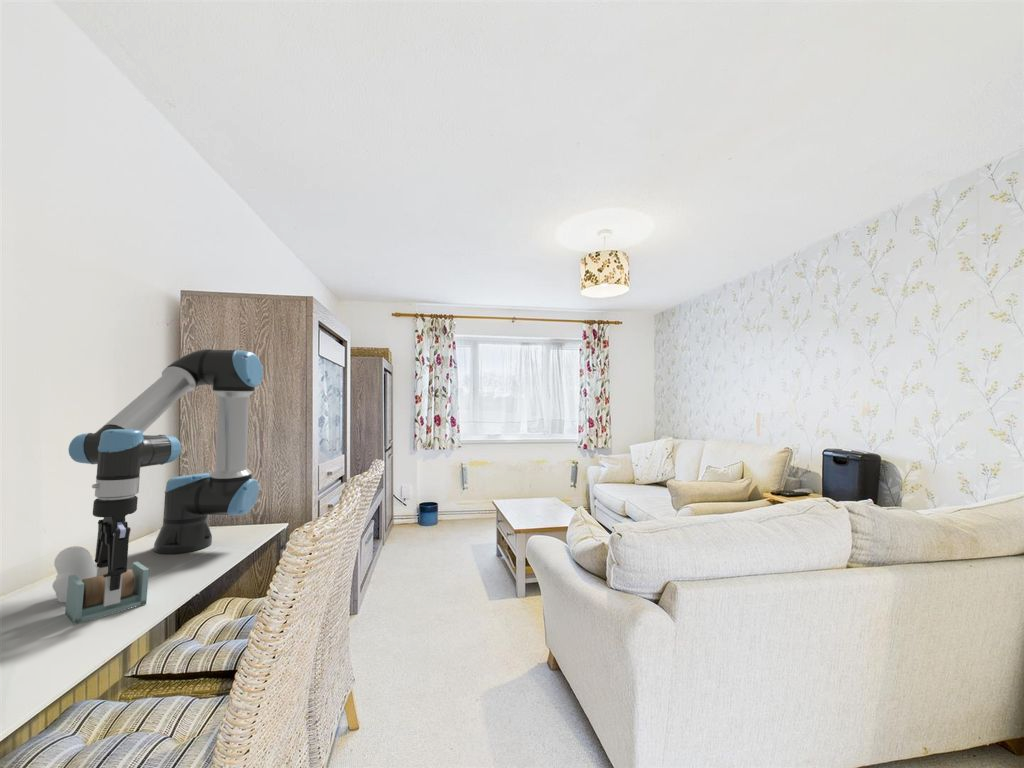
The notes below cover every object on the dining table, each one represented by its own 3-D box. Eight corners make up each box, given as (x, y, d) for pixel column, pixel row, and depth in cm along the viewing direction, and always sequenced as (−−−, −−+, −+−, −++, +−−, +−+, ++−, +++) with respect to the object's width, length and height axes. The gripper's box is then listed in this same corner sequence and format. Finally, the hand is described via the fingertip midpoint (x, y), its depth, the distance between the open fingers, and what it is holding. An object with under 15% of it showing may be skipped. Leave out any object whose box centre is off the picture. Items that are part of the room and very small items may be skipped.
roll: (124, 592, 103) (126, 566, 104) (132, 599, 100) (135, 572, 100) (77, 604, 97) (80, 576, 97) (85, 611, 93) (87, 583, 94)
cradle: (134, 595, 106) (137, 561, 106) (146, 604, 101) (149, 569, 102) (65, 613, 96) (68, 575, 96) (74, 624, 91) (77, 585, 92)
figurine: (53, 596, 104) (58, 545, 104) (97, 588, 108) (101, 539, 109) (48, 607, 98) (53, 553, 99) (94, 598, 103) (99, 547, 104)
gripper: (83, 493, 102) (73, 594, 101) (106, 505, 92) (96, 618, 90) (124, 489, 108) (116, 584, 107) (151, 500, 98) (142, 606, 96)
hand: (107, 599), depth 99 cm, fingers closed on roll, 6 cm apart
